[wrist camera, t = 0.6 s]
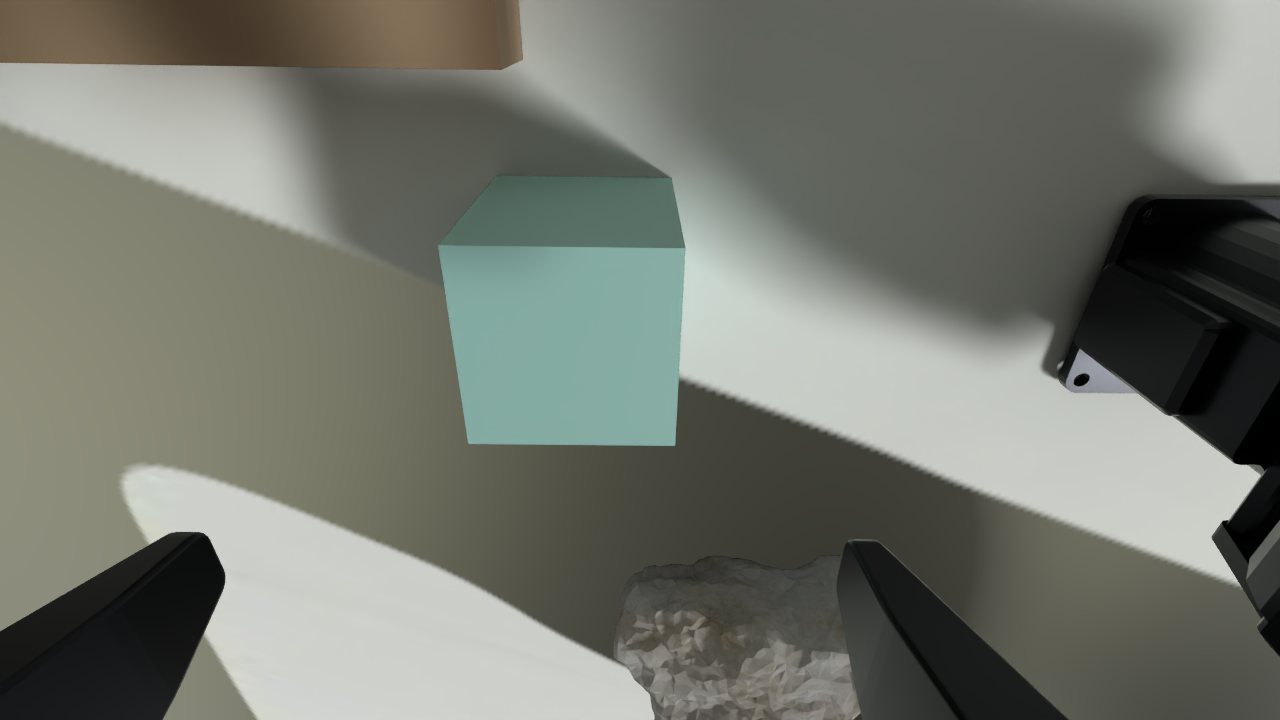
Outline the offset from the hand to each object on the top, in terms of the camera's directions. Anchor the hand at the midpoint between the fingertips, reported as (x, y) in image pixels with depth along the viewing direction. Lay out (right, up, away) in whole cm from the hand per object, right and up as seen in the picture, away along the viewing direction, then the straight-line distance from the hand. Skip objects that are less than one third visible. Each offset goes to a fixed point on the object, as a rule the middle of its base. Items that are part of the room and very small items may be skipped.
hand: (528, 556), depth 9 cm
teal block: (0, +6, +10) cm, 12 cm away
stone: (+6, -7, +18) cm, 20 cm away
